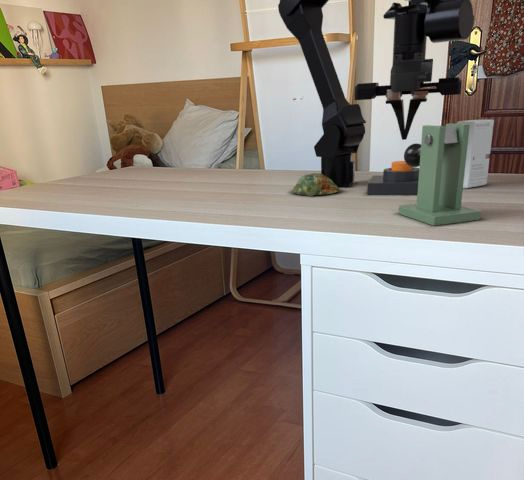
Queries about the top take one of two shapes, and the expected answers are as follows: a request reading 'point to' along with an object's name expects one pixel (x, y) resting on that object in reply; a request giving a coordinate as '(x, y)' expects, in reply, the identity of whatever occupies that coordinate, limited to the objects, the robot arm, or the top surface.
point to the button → (400, 166)
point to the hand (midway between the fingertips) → (404, 139)
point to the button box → (394, 183)
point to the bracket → (441, 179)
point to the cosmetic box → (478, 152)
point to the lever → (415, 149)
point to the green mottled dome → (315, 185)
